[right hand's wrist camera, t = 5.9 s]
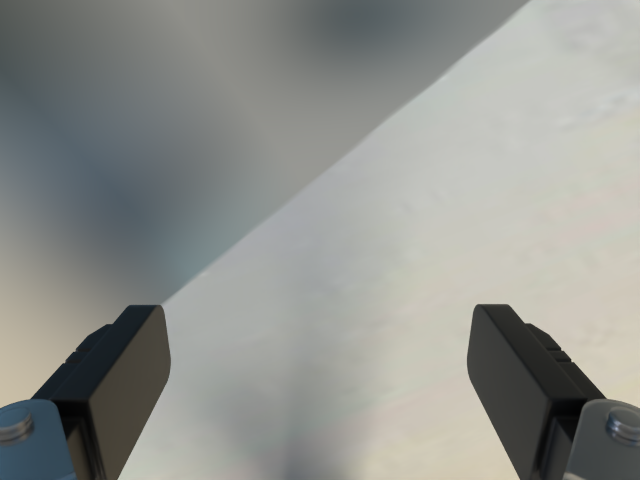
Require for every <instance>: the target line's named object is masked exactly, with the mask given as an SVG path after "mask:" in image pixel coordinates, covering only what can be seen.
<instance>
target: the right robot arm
mask: <svg viewBox="0 0 640 480" xmlns="http://www.w3.org/2000/svg"><path fill="white" fill-rule="evenodd" d="M170 366H171V357H170V349H169V342H168V335H167V328H166V321H165V314H164V310H163V308H162V306H161V305H129V306H128V307H127V308H126V309H125V310H124V311H123V313H122V314H121V315H120V316H119V317H118V318H117V320H116V321H115V322H114V323H113V324H106V325H105V326H103V327H102V328H100V329H98V330H97V331H95V332H93V333H92V334H90V335H89V336H87V337H86V339H85V340H84V341H83V342H82V343H81V344H80V345H79V346H78V347H77V348H76V352H73V353H72V354H71V355H70V356H69V357H68V358H67V359H66V362H65V363H63V364H62V365H61V366H60V367H59V368H58V369H57V370H56V371H55V373H54V374H53V375H52V376H51V377H50V378H49V379H48V380H47V381H46V382H45V383H44V385H43V386H42V387H41V388H40V389H39V390H38V391H37V392H36V393H35V394H34V396H33V397H32V398H31V399H29V400H24V401H19V402H16V403H13V404H9V405H7V406H4V407H2V408H0V480H117V479H118V477H119V475H120V473H121V471H122V470H123V468H124V466H125V464H126V462H127V460H128V458H129V456H130V454H131V452H132V450H133V448H134V446H135V444H136V442H137V440H138V438H139V436H140V434H141V432H142V430H143V428H144V426H145V424H146V422H147V420H148V418H149V416H150V414H151V412H152V411H153V409H154V407H155V405H156V403H157V401H158V399H159V397H160V395H161V393H162V391H163V389H164V387H165V385H166V383H167V381H168V378H169V373H170ZM467 368H468V374H469V378H470V380H471V383H472V385H473V387H474V389H475V391H476V393H477V395H478V397H479V399H480V401H481V403H482V405H483V407H484V409H485V411H486V413H487V415H488V417H489V419H490V421H491V423H492V425H493V427H494V429H495V430H496V432H497V434H498V436H499V438H500V440H501V442H502V444H503V446H504V448H505V450H506V452H507V454H508V456H509V458H510V460H511V462H512V464H513V466H514V468H515V470H516V472H517V474H518V476H519V478H520V480H640V408H638V407H636V406H633V405H631V404H628V403H624V402H621V401H617V400H611V399H607V398H606V397H605V396H604V395H603V394H602V393H601V392H600V391H599V390H598V388H597V387H596V386H595V385H594V384H593V383H592V382H591V381H590V380H589V378H588V377H587V376H586V375H585V374H584V373H583V372H582V371H581V370H580V369H579V367H578V366H577V365H576V364H575V363H574V362H571V359H570V357H569V356H568V355H567V354H566V353H565V352H564V351H561V347H560V346H559V345H558V344H557V343H556V342H555V341H554V340H553V339H552V338H551V336H550V335H549V334H547V333H545V332H544V331H542V330H540V329H539V328H537V327H535V326H534V325H532V324H525V323H524V322H523V321H522V320H521V318H520V317H519V316H518V315H517V314H516V313H515V311H514V310H513V309H512V308H511V307H510V306H509V305H508V304H478V305H476V306H475V308H474V311H473V318H472V325H471V332H470V339H469V347H468V354H467Z"/></svg>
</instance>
